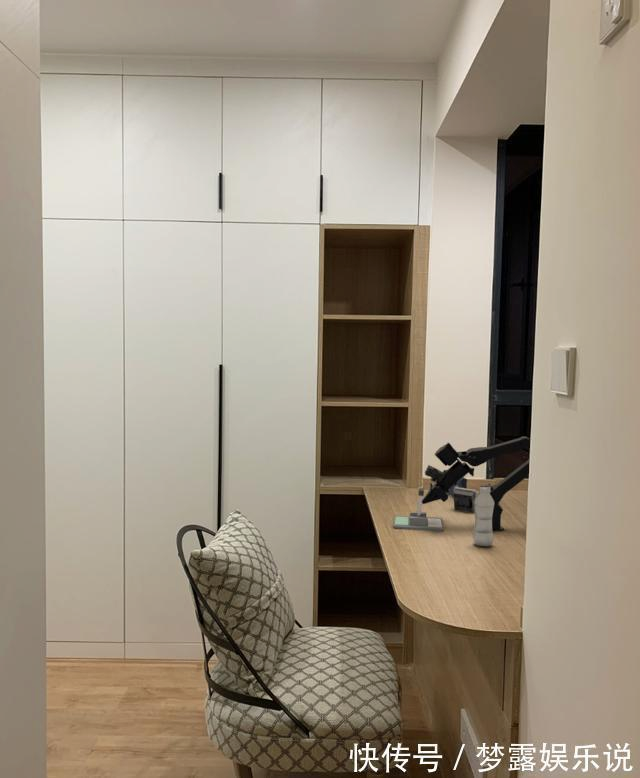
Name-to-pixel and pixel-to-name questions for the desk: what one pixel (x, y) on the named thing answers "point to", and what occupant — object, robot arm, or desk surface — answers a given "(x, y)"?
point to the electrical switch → (464, 499)
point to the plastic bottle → (483, 517)
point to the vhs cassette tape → (460, 484)
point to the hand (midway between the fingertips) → (422, 503)
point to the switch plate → (418, 522)
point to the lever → (420, 501)
